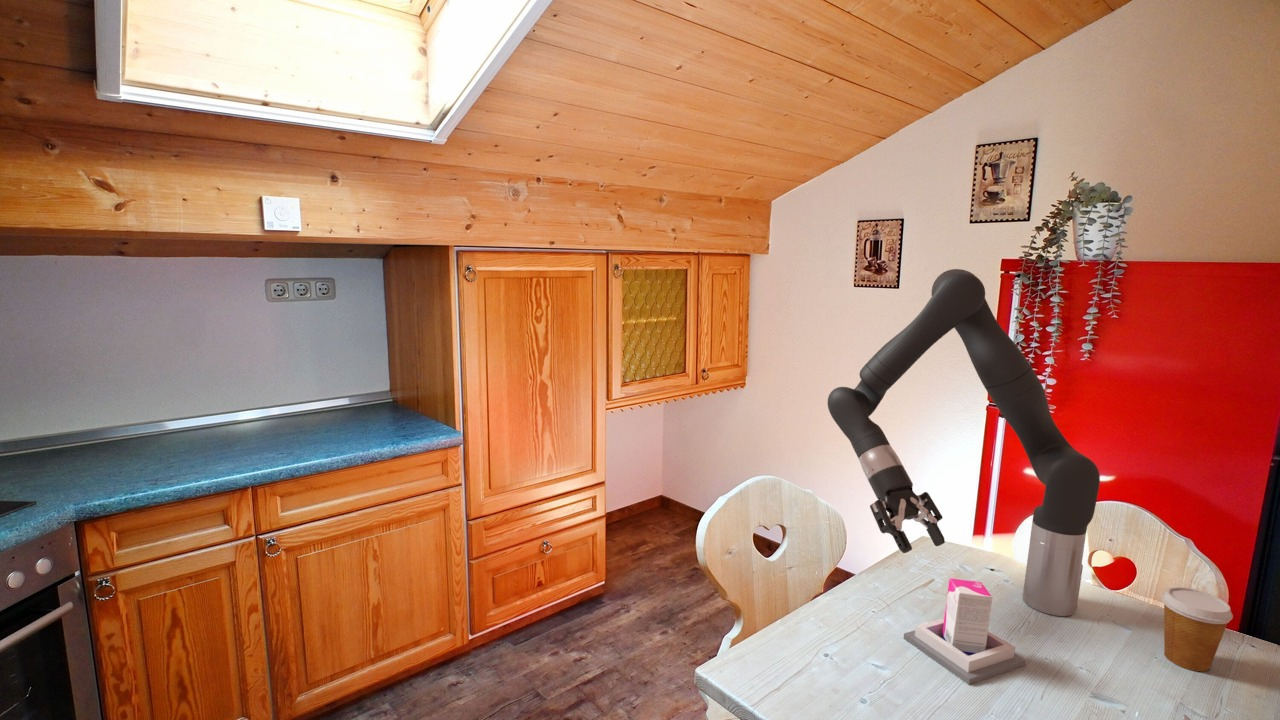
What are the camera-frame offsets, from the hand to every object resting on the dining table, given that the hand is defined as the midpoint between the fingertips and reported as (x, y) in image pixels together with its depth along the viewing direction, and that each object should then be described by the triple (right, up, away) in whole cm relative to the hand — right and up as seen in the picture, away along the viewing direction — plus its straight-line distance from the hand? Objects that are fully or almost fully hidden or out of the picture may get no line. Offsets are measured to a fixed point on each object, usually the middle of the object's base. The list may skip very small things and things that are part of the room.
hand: (924, 548), depth 122 cm
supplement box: (+4, -16, -7) cm, 18 cm away
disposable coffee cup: (+43, -18, -8) cm, 48 cm away
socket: (+4, -17, -7) cm, 18 cm away
